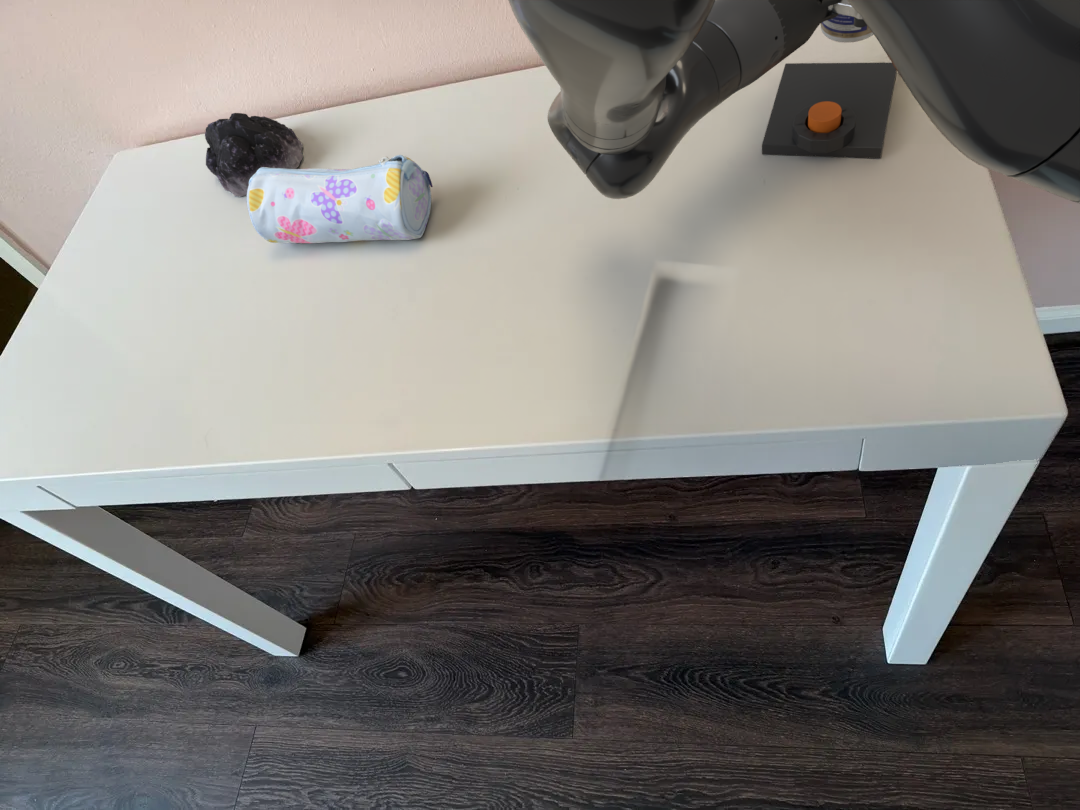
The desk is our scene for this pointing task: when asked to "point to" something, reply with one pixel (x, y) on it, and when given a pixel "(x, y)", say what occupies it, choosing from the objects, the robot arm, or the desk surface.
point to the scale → (846, 84)
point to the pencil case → (341, 203)
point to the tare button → (824, 117)
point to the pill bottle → (844, 29)
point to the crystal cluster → (249, 149)
